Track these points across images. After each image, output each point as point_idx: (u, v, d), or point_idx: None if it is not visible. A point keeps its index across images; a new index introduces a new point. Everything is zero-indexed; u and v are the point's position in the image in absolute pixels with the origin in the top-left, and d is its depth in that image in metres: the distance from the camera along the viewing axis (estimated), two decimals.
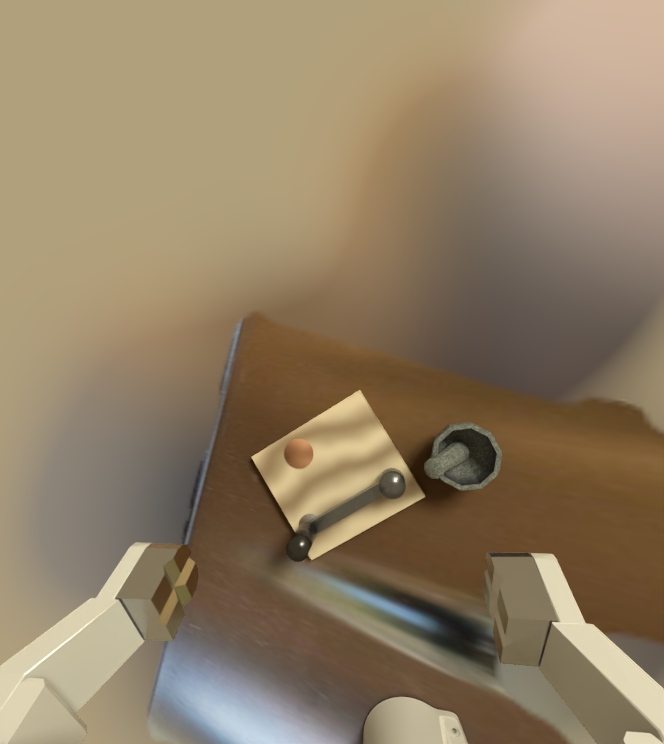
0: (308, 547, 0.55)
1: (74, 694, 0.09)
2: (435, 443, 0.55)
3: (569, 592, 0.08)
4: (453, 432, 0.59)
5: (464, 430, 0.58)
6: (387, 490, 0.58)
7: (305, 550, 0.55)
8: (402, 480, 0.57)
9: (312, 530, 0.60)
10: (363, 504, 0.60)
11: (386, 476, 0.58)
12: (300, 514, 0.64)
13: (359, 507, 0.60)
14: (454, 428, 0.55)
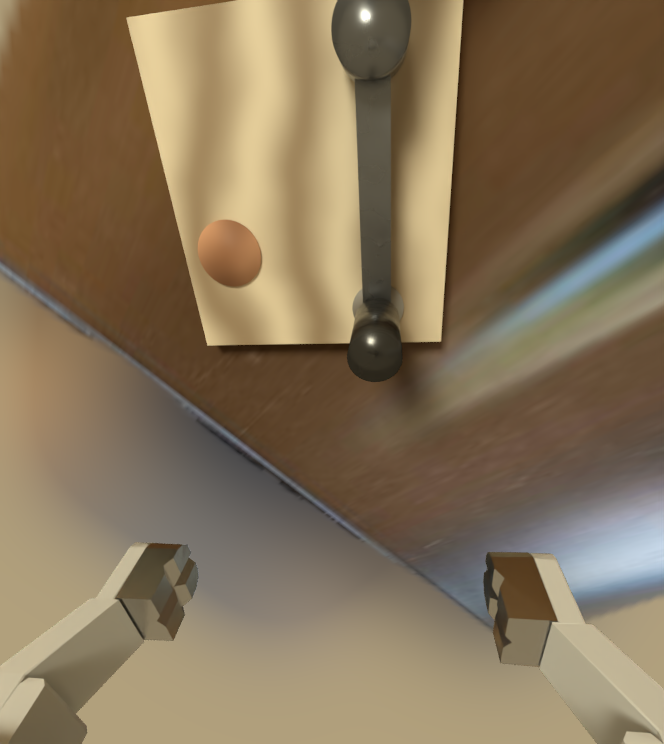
0: (384, 330, 0.22)
1: (74, 694, 0.09)
2: None
3: (569, 592, 0.08)
4: None
5: None
6: (375, 51, 0.19)
7: (383, 339, 0.22)
8: None
9: (373, 305, 0.26)
10: (384, 156, 0.23)
11: (337, 31, 0.19)
12: (347, 314, 0.31)
13: (386, 171, 0.23)
14: None
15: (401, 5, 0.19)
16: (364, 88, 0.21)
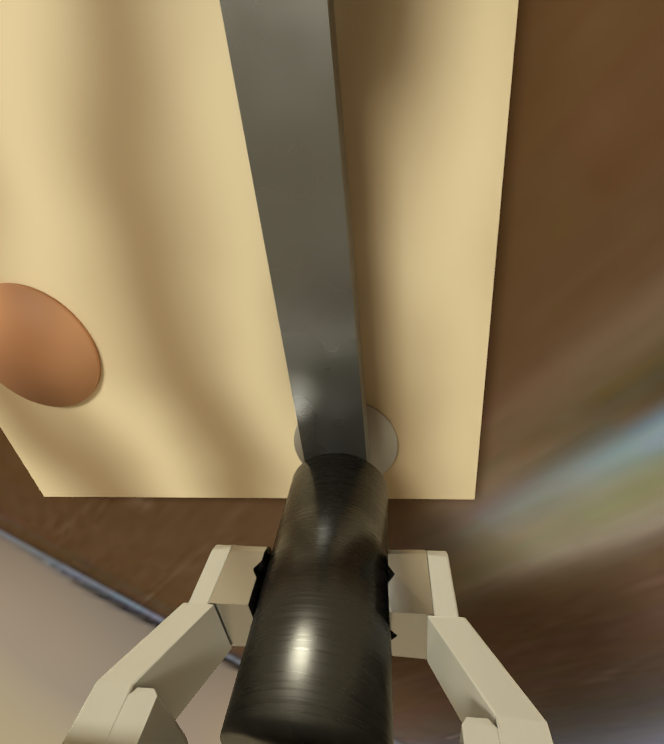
0: (330, 681, 0.07)
1: (172, 703, 0.08)
2: None
3: (451, 587, 0.08)
4: None
5: None
6: None
7: (326, 728, 0.06)
8: None
9: (319, 495, 0.10)
10: (319, 119, 0.08)
11: None
12: (286, 453, 0.15)
13: (329, 163, 0.08)
14: None
15: None
16: None
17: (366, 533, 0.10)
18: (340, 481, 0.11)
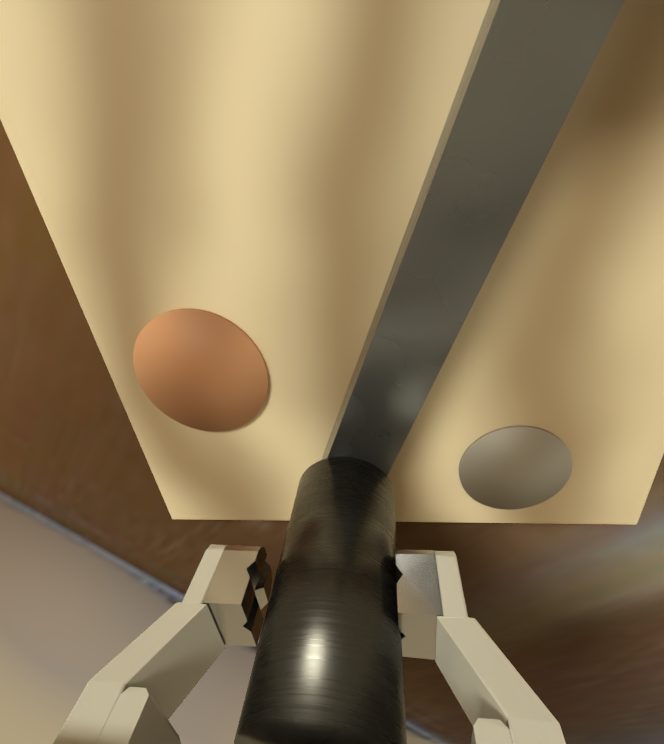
0: (375, 697, 0.07)
1: (166, 702, 0.08)
2: None
3: (460, 587, 0.08)
4: None
5: None
6: None
7: None
8: None
9: (350, 500, 0.10)
10: (525, 159, 0.08)
11: None
12: (446, 478, 0.15)
13: (509, 202, 0.08)
14: None
15: None
16: None
17: (391, 551, 0.10)
18: (368, 491, 0.11)
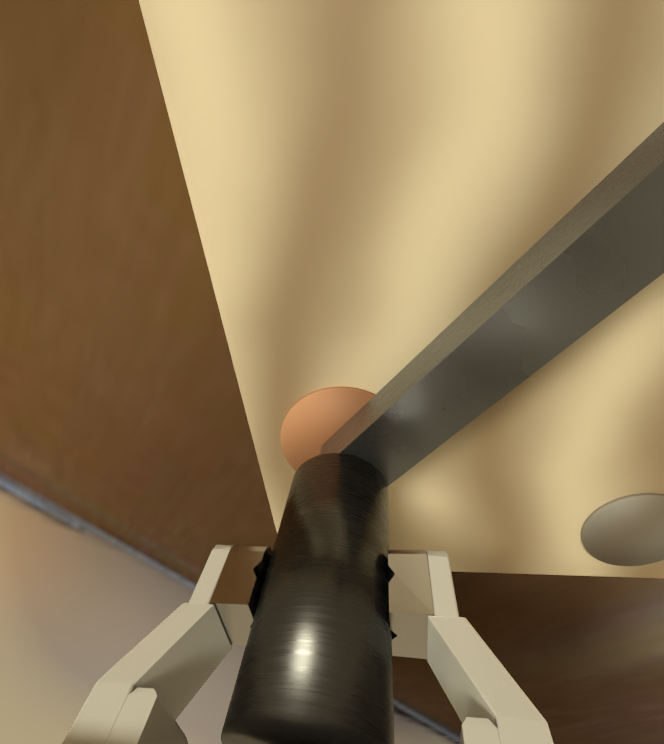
0: (383, 707, 0.07)
1: (173, 704, 0.08)
2: None
3: (451, 587, 0.08)
4: None
5: None
6: None
7: None
8: None
9: (363, 503, 0.10)
10: (657, 259, 0.08)
11: None
12: (567, 537, 0.16)
13: (624, 290, 0.09)
14: None
15: None
16: None
17: None
18: (377, 498, 0.11)
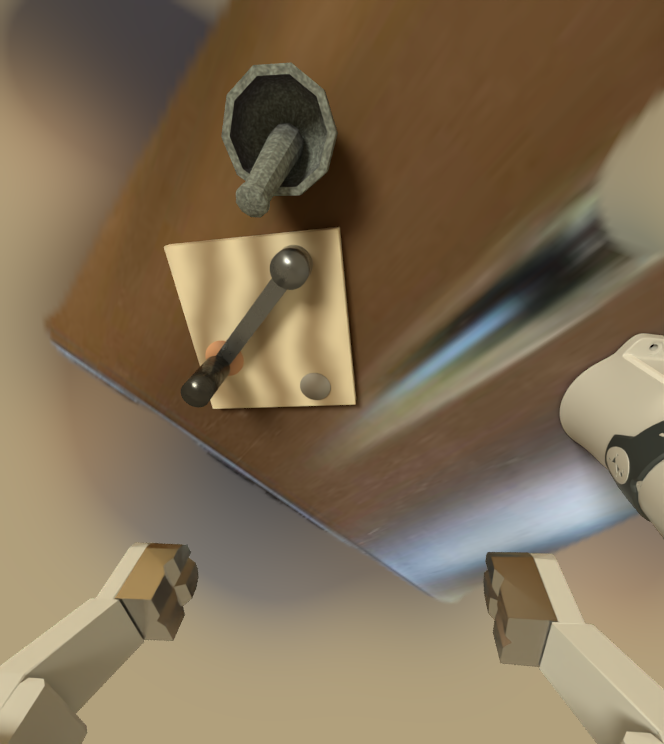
0: (208, 386, 0.41)
1: (74, 694, 0.09)
2: (241, 175, 0.34)
3: (569, 592, 0.08)
4: (255, 135, 0.36)
5: (257, 114, 0.35)
6: (285, 279, 0.39)
7: (204, 390, 0.41)
8: (299, 256, 0.38)
9: (217, 364, 0.45)
10: (267, 310, 0.43)
11: (275, 259, 0.38)
12: (297, 390, 0.50)
13: (264, 315, 0.43)
14: (227, 131, 0.32)
15: (304, 275, 0.39)
16: None
17: (221, 376, 0.44)
18: (222, 364, 0.45)
